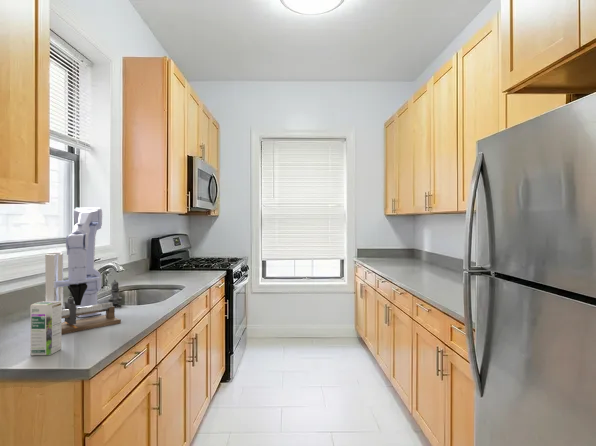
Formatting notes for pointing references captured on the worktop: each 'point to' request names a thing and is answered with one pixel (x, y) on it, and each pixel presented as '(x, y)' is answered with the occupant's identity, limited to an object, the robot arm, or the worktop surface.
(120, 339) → the worktop surface
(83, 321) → the pipe stand
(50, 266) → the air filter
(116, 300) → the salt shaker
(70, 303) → the grey pipe bracket
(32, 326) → the syrup box
